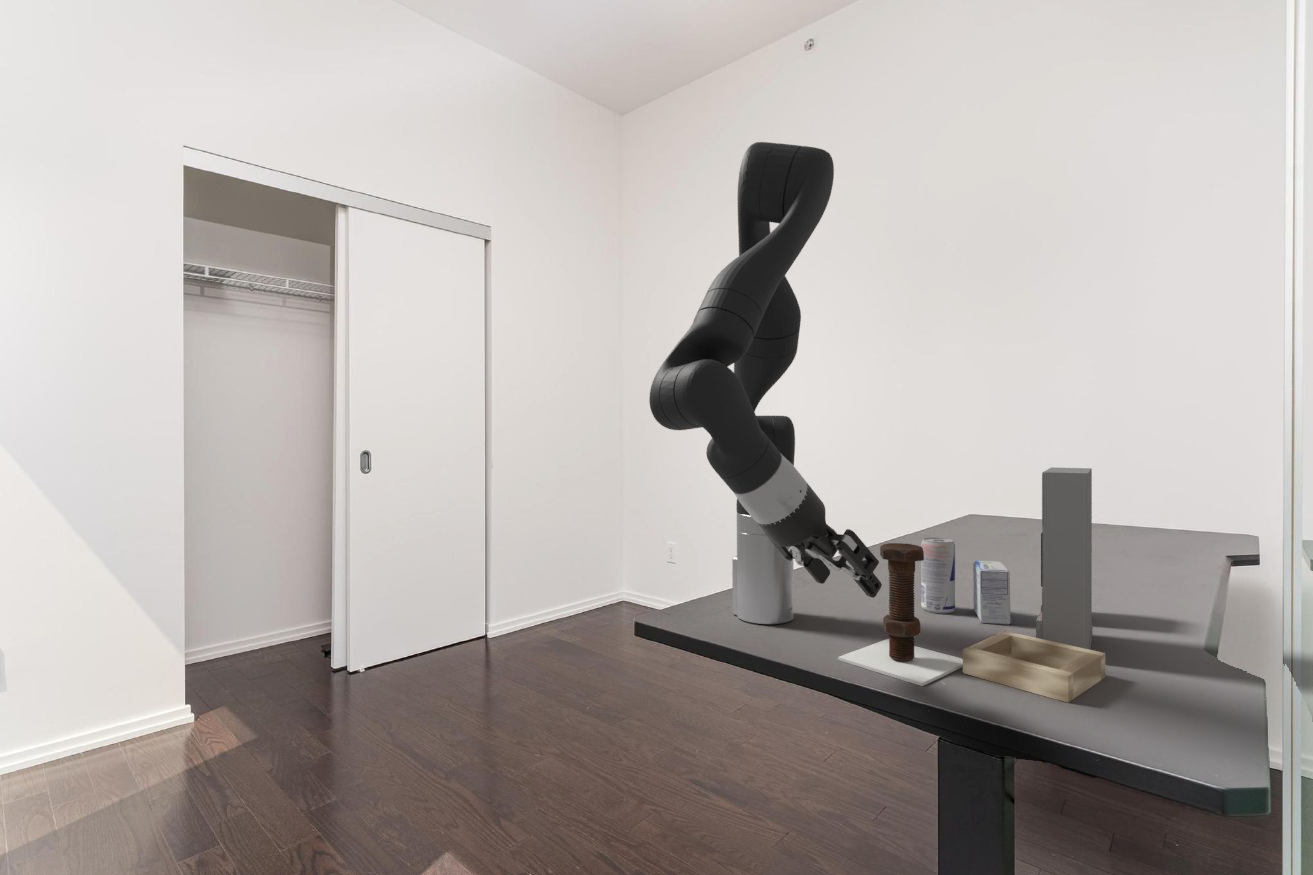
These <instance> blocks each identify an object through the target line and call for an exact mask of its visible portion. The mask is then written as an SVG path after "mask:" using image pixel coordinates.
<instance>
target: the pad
mask: <svg viewBox="0 0 1313 875" xmlns="http://www.w3.org/2000/svg"><path fill="white" fill-rule="evenodd" d="M889 640H890V639H889V638H887V639H884V640H881V641H878V642H875V643H873V644H870V645H867V646H864V647H862V648H859V649H856V650H853V651H850V652H848V653H845V654H843V655H840V656H838V657H837V661H840V662H843V663H846V664H849V665H853V666H856V667H860V668H862V669H865V670H869V671H872V672H875V673H879V674H882V675H885V676H888V677H892V678H895V679H898V680H901V681H904V682H908V683H911V684H913V685H918V686H920V687H924V686H926V685H928V684H930V683H932V682H935V681H937V680H939V679H941V678H943V677H945V676H947V675H949V674H951V673H954V672H955V671H957V670H960V669H963V657H962V658H961V657H957V656H954V655H950V654H945V653H942V652H940V651H939V652H938V651H935V650H930V649H928V648H923V647H919V646H915V645H914V646H915V647H914V654H915V655H914V656H915V657H914V658H913V660H911V661H895V660H893V659H892V658H891V657H890V656H889V650H890V649H889V645H890V644H889V642H890V641H889Z"/></svg>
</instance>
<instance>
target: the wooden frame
mask: <svg viewBox="0 0 1313 875" xmlns="http://www.w3.org/2000/svg"><path fill="white" fill-rule="evenodd" d="M962 659H963V667H962V674H965V675H969V676H973V677H976V678H979V679H983V680H987V681H990V682H993V683H997V684H1001V685H1004V686H1008V687H1011V688H1014V689H1017V690H1018V689H1019V690H1022V691H1026V692H1028V693H1033V694H1035V695H1040V696H1043V697H1047V698H1050V699H1054V700H1057V701H1061V702H1065V703H1067V704H1069V703H1070V702H1072V701H1073V700H1074V699H1076V698H1078V697H1079V696H1080V695H1082V694H1084V692H1086V691H1088V690H1089V689H1091V688H1092V687H1093V686H1095V685H1096V684H1098V683H1099V682H1101V681H1102V680H1104V679H1105V678H1106V653H1105V652H1101V651H1098V650H1093V649H1090V650H1089V649H1084V648H1080V647H1075V646H1071V645H1066V644H1062V643H1057V642H1053V641H1048V640H1043V639H1039V638H1036V637H1034V636H1029V635H1025V634H1020V633H1017V632H1011V631H1007V630H1003V631H1001V632H998V633H997V634H995V635H993V636H990V637H988V638H985V639H984V640H981V641H978V642H976V643H974V644H972V645H970V646H967V647H965V648H963V649H962Z"/></svg>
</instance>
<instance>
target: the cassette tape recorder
mask: <svg viewBox="0 0 1313 875" xmlns="http://www.w3.org/2000/svg"><path fill="white" fill-rule="evenodd" d="M1092 470H1093V469H1092V467H1091V468H1087V467H1082V468H1081V467H1049V468H1048V469H1046V470H1044V471H1042V473H1041V530H1042V532H1041V533H1040V587H1041V606H1040V613H1039V614H1038V616H1037V618H1036V620H1035V621H1036V622H1035V627H1036V628H1035V638H1039V639H1043V640H1048V641H1053V642H1057V643H1062V644H1066V645H1071V646H1075V647H1080V648H1084V649H1089V650H1091V646H1092V642H1093V641H1092V640H1093V631H1094V630H1093V629H1094V628H1093V626H1092V623H1093V622H1092V619H1093V618H1092V616H1093V615H1092V613H1093V612H1092V611H1093V610H1092V606H1093V604H1092V598H1093V597H1092V595H1093V594H1092V592H1093V590H1092V586H1093V584H1092V583H1093V581H1092V579H1093V578H1092V575H1093V574H1092V573H1093V572H1092V566H1093V564H1092V563H1093V562H1092V559H1093V558H1092V557H1093V556H1092V553H1093V552H1092V546H1093V543H1092V541H1093V539H1092V535H1093V534H1092V530H1093V529H1092V527H1093V526H1092V525H1093V524H1092V523H1093V522H1092V518H1093V517H1092V514H1093V513H1092V511H1093V510H1092V507H1093V506H1092V504H1093V503H1092V502H1093V500H1092V498H1093V497H1092V494H1093V492H1092V484H1093V483H1092V481H1093V477H1092V475H1093V471H1092Z"/></svg>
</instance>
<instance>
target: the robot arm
mask: <svg viewBox="0 0 1313 875" xmlns="http://www.w3.org/2000/svg"><path fill="white" fill-rule="evenodd" d="M742 157H743V158H742V159H741V160H742V161H741V164H740V168H739V174H738V179H737V180H738V182H737V227H738V228H737V230H738V231H737V232H738V234H737V235H738V256H737V257H736V258H734V259H733V260H732V261H730V262H729V263H728V264H727V265H726V266H725V267H724V268H723V269H722V270H721V271H720V272H719V273H718V274H717V275H716V276H715V277H714V279H713V280H712V282H711V284H710V286H709V287H708V289H707V291H706V293H705V295H704V298H703V300H702V302H701V304H700V306H699V308H698V310H697V312H696V315H694V316H695V317H694V318H693V322H692V324H691V325H690V327H689V329H688V330H687V331H686V332H685V334H684V335H683V336H682V337H681V339H679V340H678V341H677V343H676V344H675V346H674V347H673V349H672V350H671V352H670V353H669V354H668V356H666V358H665V359H664V361H663V362H662V364H661V365H660V367H659V369H658V370H657V372H656V373H655V375H654V378H653V380H652V382H651V387H650V390H649V402H648V403H649V407H650V412H651V414H652V416H653V418H654V419H655V421H656V422H657V423H658V424H660V425H661V426H662V427H664V428H665V429H669V430H672V431H686V430H693V429H699V428H703V429H704V430H705V431H706V432H707V433H708V434H709V435H710V437H711V439H710V440H709V442H708V444H707V447H706V458H707V461H708V463H709V464H710V466H711V468H712V469H713V470H714V472H715V473H716V474H717V475H718V476H719V478H720V479H721V480H722V481H723V482H724V484H726V485H727V486H728V488H729V489H730V490H731V491H732V492H733V494H734V495H735V496H736V498H737V499H736V556H733V558H732V561H731V562H732V565H731V566H732V573H731V574H732V579H731V580H732V614H733V615H735V616H737V618H738V619H740V620H742V621H743V622H747V623H752V624H760V625H778V624H785V623H788V622H790V621H792V620H794V561H795V563H796V564H797V565H798V566H800V567H804V569H806V571H807V572H808V573H809V575H810V576H811V577H812V578H813V579H814V580H815V582H816V583H818V584H822V585H823V584H825V583H826V581H827V580H828V578H829V576H830V574H831V570H830V568H832V569H833V570H834V571H835V572H836V571H837V572H839V571H843V572H844V573H846V575H848V576H850V577H851V578H852V579H853V580H854V581H855V583H856V584H857V585H858V586H859V588H860V589H861V590H862V591H863V592H864V594H865V595H866V597H869V598H875V597H876V596H877V594H878V593H879V592H880V590H881V589H882V586H883V585H882V584H883V583H882V582H881V581H880V579H879V578H878V577H877V576H876V575H875V573H874V572H875V570H876V568H877V567H878V565H879V564H880V561H879V560H878V559H877V557H876V556H875V555H874V554H873V552H872V551H871V550H870V549H869V548H868V547H867V545H866V544H865V543H864V542H863V541H862V539H860V537H859V536H858V535H857V534H856V532H855V531H853V530H851V529H850V528H847V529H845V531H844V533H843V534H841V533H840V534H839V533H837V531H835V529H834V528H833V527H831V526H829V524H827V521H826V506H825V504H824V502H823V501H822V500H821V498H820V497H819V496H818V494H816V492H815V491H814V490H813V488H812V487H811V485H809V483H808V482H807V481H806V479H805V478H804V476H802V474H801V473H800V472H799V471H798V470H797V468H796V467H795V466H794V465H795V453H796V452H795V451H796V434H795V433H796V432H795V426H794V423H793V421H792V419H791V418H790V417H789V416H787V415H757V414H756V409H757V407H758V405H759V404H760V402H761V400H762V399H763V397H765V395H766V394H767V393H768V392H769V391H770V390H771V388H772V387H773V386H774V385H775V384H776V383H777V382H778V381H779V380H780V379H781V378H782V376H783V375H784V374H785V373H786V371H788V369H789V368H790V367H791V365H792V364H793V362H794V360H795V358H796V356H797V352H798V346H799V339H800V328H801V321H802V314H801V313H802V312H801V308H800V304H799V301H798V298H797V297H796V294H795V292H794V290H793V288H792V287H791V284H790V282H789V280H788V279H787V277H786V275H787V273H788V271H789V270H790V268H791V267H792V265H793V264H794V263H795V261H796V259H797V258H798V257H799V255H800V254H801V252H802V251H803V249H804V247H805V246H806V244H807V242H808V241H809V239H810V238H811V237H812V234H813V233H814V231H815V229H816V227H817V226H818V225H819V223H820V221H821V219H822V218H823V215H824V213H825V211H826V209H827V207H828V205H829V202H830V199H831V198H830V197H831V194H832V191H833V184H834V177H835V176H834V174H835V173H834V172H835V167H834V159H833V157H832V155H831V153H829V152H828V151H827V150H825V149H822V148H818V147H813V146H806V145H798V144H797V145H796V144H787V143H786V144H785V143H776V142H767V141H758V142H754V143H752V144H751V145H749V147H747V149H746V151H745V152H744V155H743V156H742ZM771 223H775V224H778V225H777V226H776V227H775V228H774V229H773V230H772V231H771ZM732 364H733V370H732V369H730V368H729V367H730V366H731V365H732ZM837 552H838V555H840V556H839V558H838V559H837V560H835V559H833V558H834V557H835V555H836V554H837ZM847 562H848V564H847ZM828 566H829V567H830V568H829V567H828Z"/></svg>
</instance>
